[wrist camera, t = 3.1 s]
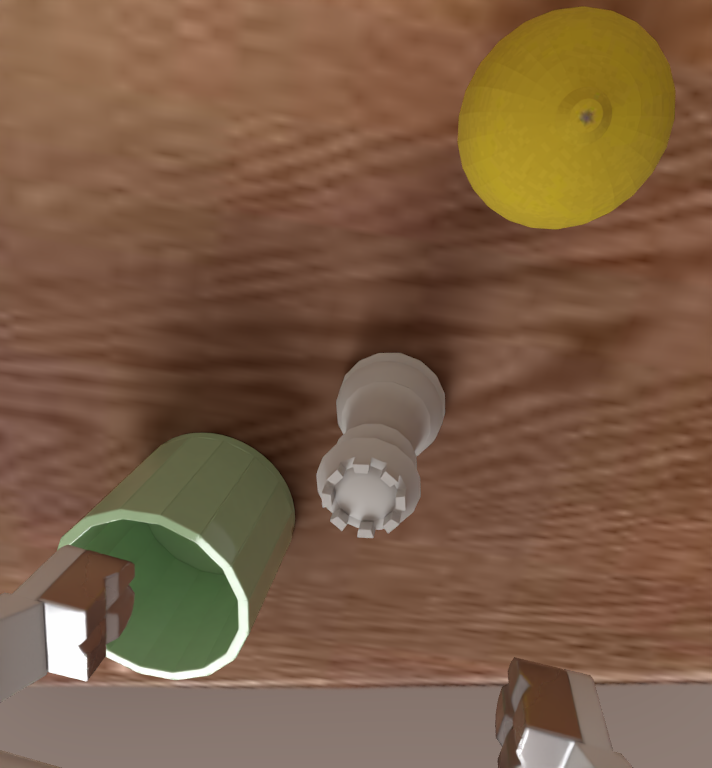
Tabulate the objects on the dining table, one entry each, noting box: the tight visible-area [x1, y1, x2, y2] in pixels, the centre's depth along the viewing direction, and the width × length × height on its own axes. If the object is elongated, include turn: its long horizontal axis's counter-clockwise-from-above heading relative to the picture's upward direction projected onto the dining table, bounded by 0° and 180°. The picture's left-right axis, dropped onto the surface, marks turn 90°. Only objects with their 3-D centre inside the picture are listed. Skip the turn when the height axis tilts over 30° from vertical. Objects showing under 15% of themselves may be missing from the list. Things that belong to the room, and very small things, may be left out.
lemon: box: [458, 6, 675, 229], centre depth 16 cm, size 6×6×8 cm
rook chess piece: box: [316, 353, 445, 538], centre depth 20 cm, size 4×4×8 cm
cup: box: [57, 433, 295, 680], centre depth 25 cm, size 8×8×6 cm
